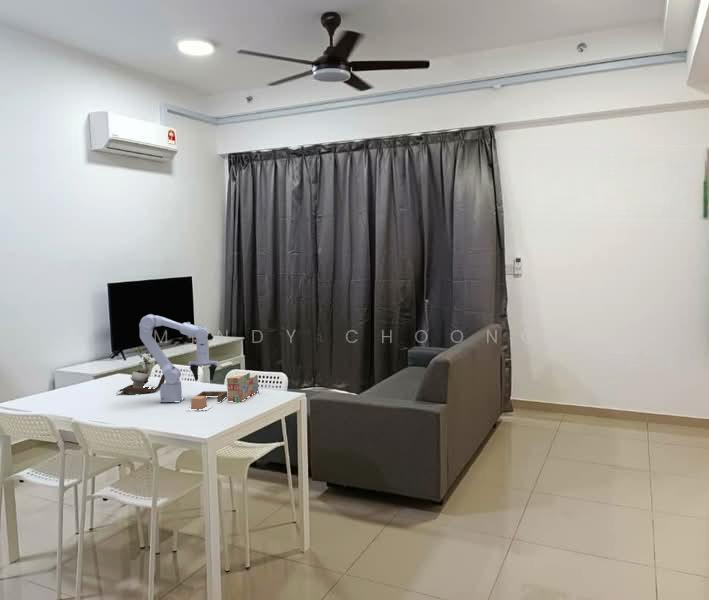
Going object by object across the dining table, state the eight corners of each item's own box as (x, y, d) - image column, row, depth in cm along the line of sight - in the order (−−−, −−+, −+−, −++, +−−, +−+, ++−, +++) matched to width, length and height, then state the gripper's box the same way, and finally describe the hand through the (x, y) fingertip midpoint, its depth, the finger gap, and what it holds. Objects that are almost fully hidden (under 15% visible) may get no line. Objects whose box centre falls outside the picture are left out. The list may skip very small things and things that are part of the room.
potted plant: (127, 391, 304) (139, 347, 307) (161, 399, 305) (173, 354, 308) (114, 394, 285) (127, 346, 287) (151, 401, 285) (163, 354, 288)
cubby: (194, 403, 265) (194, 397, 264) (203, 397, 276) (202, 391, 276) (219, 403, 263) (219, 396, 263) (227, 397, 275) (227, 391, 274)
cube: (191, 409, 252) (190, 398, 252) (197, 406, 257) (196, 395, 256) (201, 409, 251) (200, 398, 250) (206, 406, 256) (206, 396, 255)
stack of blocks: (247, 392, 285) (246, 368, 284) (258, 392, 283) (257, 368, 283) (227, 402, 264) (226, 377, 263) (239, 403, 263) (238, 377, 262)
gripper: (220, 351, 274) (221, 378, 275) (191, 351, 275) (193, 378, 276) (215, 353, 267) (216, 381, 268) (186, 353, 268) (187, 381, 269)
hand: (204, 380), depth 272 cm, fingers open, 7 cm apart
